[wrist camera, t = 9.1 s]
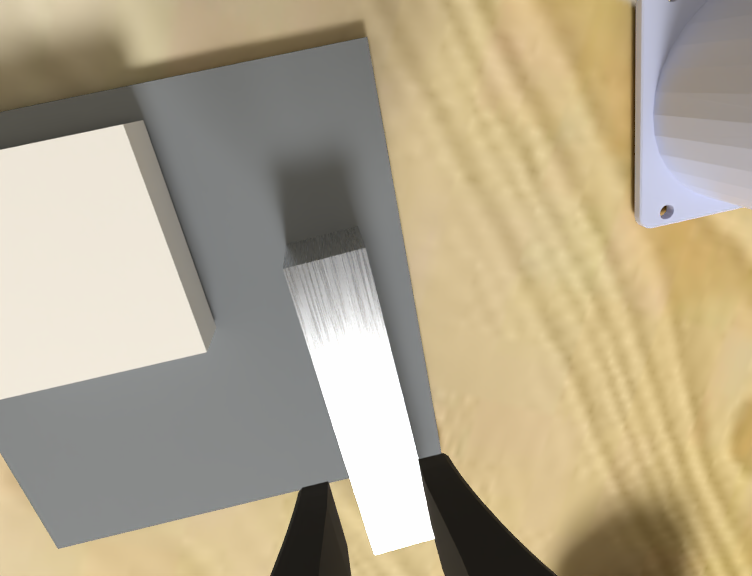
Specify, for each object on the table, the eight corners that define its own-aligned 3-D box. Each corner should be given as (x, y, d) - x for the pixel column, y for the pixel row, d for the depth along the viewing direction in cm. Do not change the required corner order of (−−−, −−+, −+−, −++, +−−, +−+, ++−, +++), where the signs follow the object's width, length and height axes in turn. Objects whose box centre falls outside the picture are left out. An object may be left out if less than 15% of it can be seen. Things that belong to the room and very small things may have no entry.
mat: (365, 37, 16) (366, 36, 15) (439, 449, 22) (441, 455, 21) (-171, 148, 15) (-183, 149, 15) (62, 540, 21) (58, 548, 21)
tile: (217, 324, 18) (145, 119, 15) (206, 352, 16) (123, 124, 13) (17, 370, 18) (-93, 169, 15) (-17, 403, 16) (-149, 180, 13)
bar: (286, 244, 17) (357, 225, 17) (367, 505, 22) (423, 489, 22) (282, 268, 15) (365, 247, 15) (374, 554, 20) (437, 537, 20)
